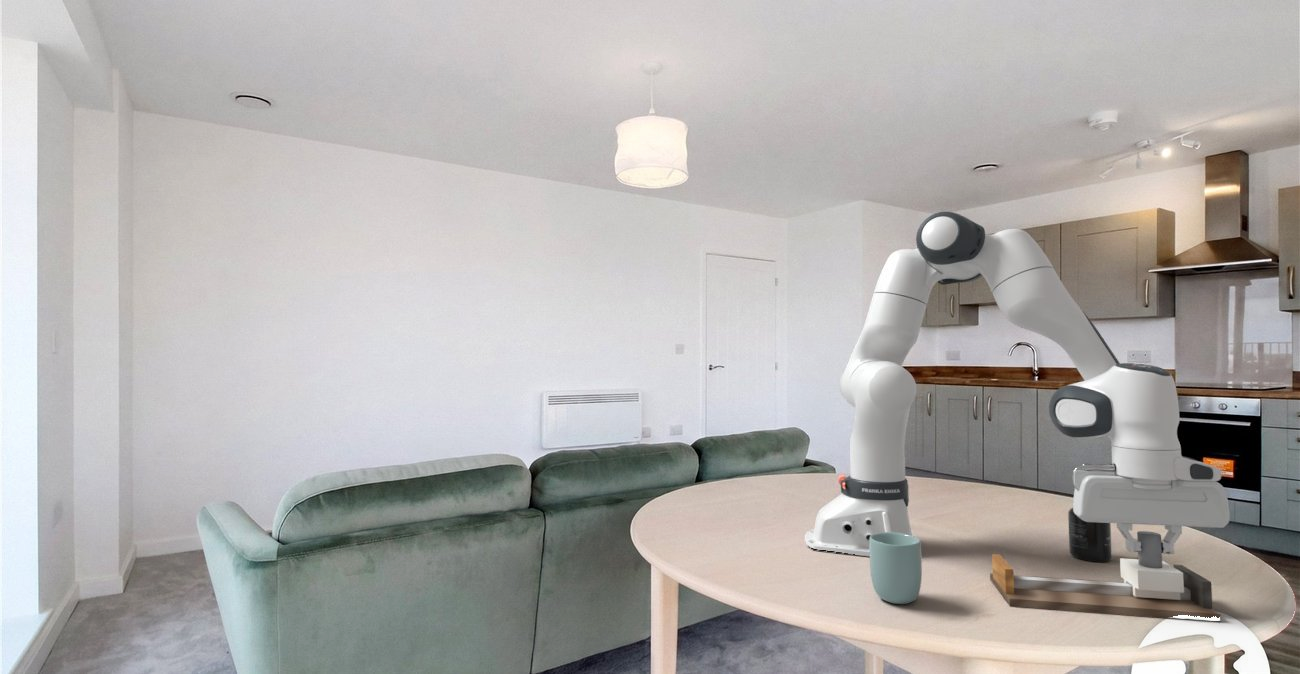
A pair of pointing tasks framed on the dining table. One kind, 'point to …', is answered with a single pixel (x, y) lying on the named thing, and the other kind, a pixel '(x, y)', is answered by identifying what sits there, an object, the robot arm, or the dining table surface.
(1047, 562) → the dining table surface
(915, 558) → the cup
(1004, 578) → the rail track
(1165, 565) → the slider
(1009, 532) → the dining table surface
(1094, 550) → the supplement bottle
